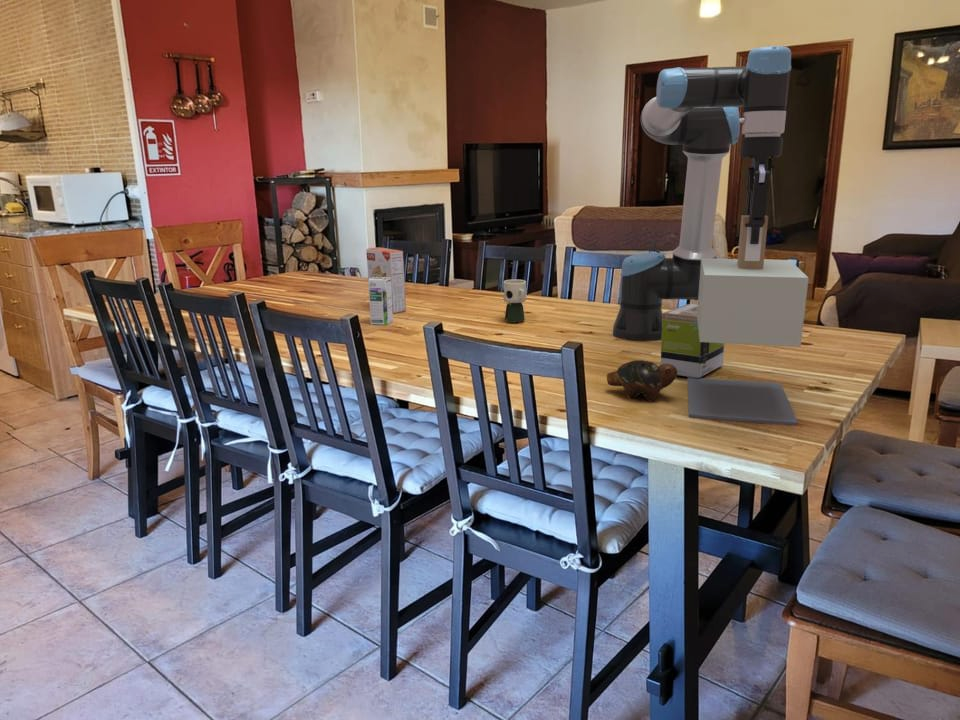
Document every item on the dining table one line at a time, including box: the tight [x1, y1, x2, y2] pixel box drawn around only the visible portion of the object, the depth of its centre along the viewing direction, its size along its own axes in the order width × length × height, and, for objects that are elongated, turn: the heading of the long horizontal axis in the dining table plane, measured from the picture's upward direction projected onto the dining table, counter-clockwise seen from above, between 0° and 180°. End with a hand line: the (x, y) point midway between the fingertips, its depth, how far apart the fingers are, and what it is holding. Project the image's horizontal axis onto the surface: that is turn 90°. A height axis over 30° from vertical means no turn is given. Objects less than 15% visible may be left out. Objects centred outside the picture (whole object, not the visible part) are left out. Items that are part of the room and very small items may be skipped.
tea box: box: [659, 303, 725, 378], centre depth 166 cm, size 15×10×15 cm, turn 141°
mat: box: [687, 377, 799, 427], centre depth 147 cm, size 25×20×1 cm
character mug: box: [502, 279, 527, 324], centre depth 219 cm, size 11×7×13 cm, turn 26°
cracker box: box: [365, 246, 407, 315], centre depth 238 cm, size 14×6×21 cm, turn 42°
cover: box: [697, 214, 810, 348], centre depth 140 cm, size 23×18×23 cm
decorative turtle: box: [606, 359, 678, 402], centre depth 151 cm, size 10×15×8 cm, turn 69°
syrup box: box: [367, 277, 394, 326], centre depth 220 cm, size 6×6×14 cm
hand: (750, 258), depth 139 cm, fingers closed on cover, 4 cm apart
